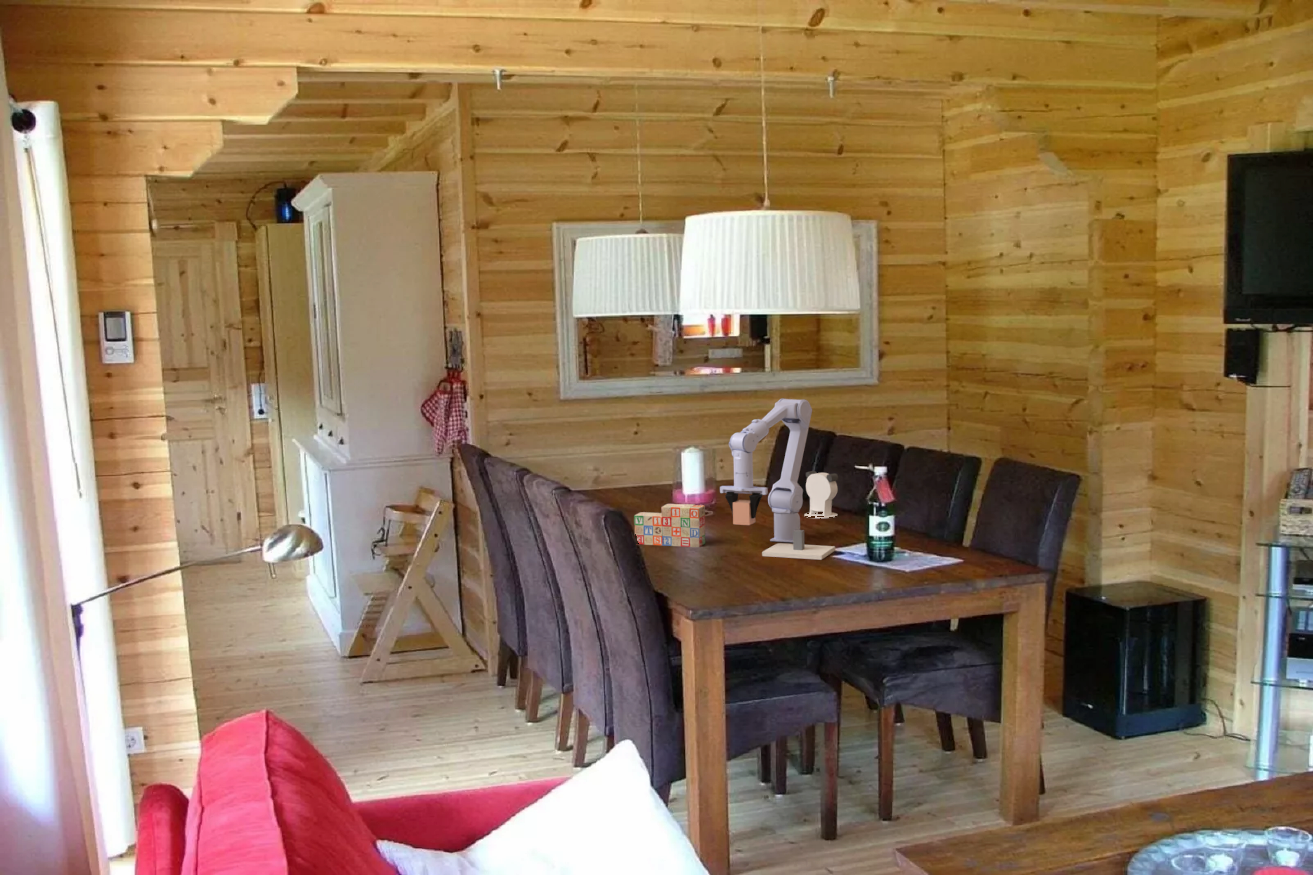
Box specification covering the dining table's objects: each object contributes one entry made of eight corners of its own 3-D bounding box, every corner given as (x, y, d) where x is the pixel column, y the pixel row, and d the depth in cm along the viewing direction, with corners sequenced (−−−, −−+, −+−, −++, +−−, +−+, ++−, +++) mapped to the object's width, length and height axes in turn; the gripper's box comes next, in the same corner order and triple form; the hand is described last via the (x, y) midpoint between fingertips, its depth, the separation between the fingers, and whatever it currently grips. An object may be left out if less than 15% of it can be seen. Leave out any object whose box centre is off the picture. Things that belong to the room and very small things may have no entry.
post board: (777, 546, 383) (777, 525, 382) (835, 550, 375) (834, 528, 374) (762, 556, 370) (761, 533, 369) (821, 559, 362) (821, 536, 362)
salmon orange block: (739, 521, 382) (738, 499, 381) (755, 522, 380) (755, 500, 379) (733, 524, 377) (732, 502, 377) (749, 525, 375) (749, 503, 374)
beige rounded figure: (845, 515, 434) (845, 472, 432) (824, 519, 426) (823, 476, 425) (819, 511, 443) (818, 469, 441) (797, 516, 435) (797, 473, 433)
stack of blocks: (634, 544, 393) (633, 505, 391) (641, 541, 399) (640, 502, 397) (699, 547, 386) (698, 507, 384) (705, 543, 391) (705, 504, 390)
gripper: (715, 473, 376) (716, 518, 378) (761, 475, 370) (762, 520, 372) (724, 470, 383) (725, 514, 384) (769, 472, 377) (770, 516, 378)
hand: (744, 517), depth 378 cm, fingers closed on salmon orange block, 5 cm apart
